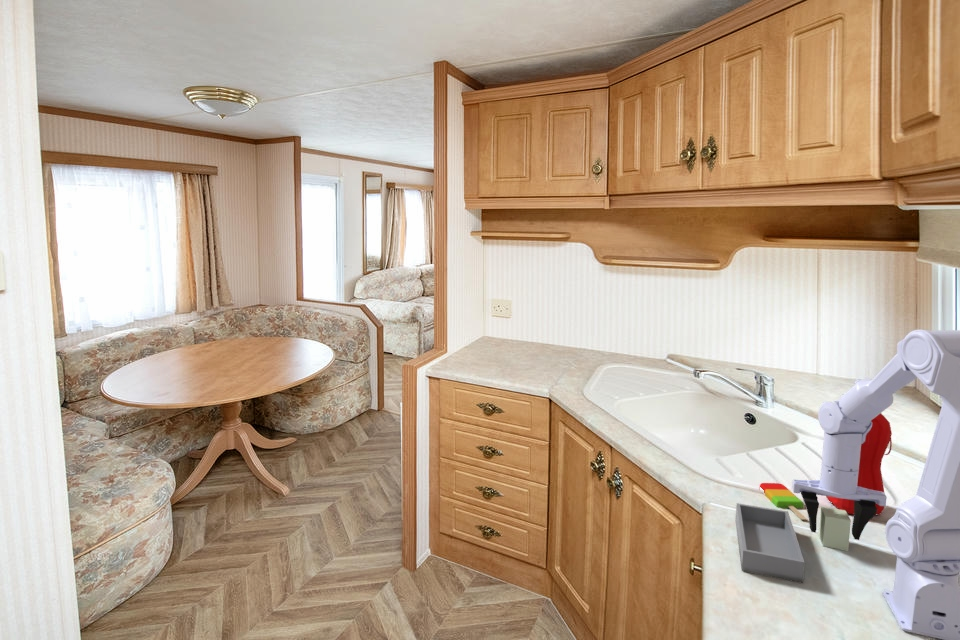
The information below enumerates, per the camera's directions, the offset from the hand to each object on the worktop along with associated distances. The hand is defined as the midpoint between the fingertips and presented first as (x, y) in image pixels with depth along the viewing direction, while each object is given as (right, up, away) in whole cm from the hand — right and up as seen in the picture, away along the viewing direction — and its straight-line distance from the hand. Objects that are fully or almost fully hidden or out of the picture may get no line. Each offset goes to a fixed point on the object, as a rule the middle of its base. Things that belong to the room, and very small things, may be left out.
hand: (833, 533), depth 100 cm
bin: (-14, -2, -2) cm, 14 cm away
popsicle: (0, 0, +15) cm, 15 cm away
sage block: (0, -2, 0) cm, 2 cm away
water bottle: (+14, 0, +14) cm, 20 cm away
